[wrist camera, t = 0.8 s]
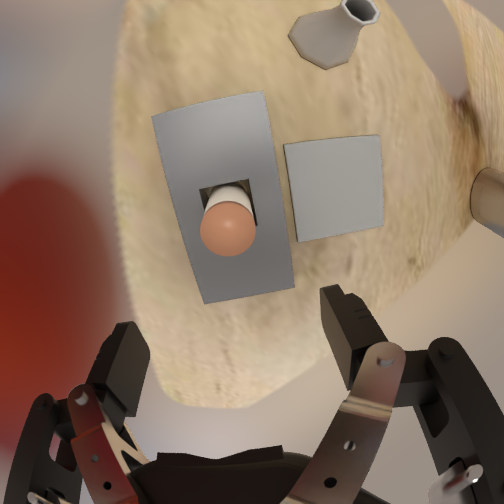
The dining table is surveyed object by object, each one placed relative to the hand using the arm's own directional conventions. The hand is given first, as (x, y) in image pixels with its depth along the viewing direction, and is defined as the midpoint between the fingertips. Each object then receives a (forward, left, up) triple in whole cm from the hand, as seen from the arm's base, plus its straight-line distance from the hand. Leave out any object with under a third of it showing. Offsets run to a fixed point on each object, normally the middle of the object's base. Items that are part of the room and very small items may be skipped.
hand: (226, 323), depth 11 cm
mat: (-12, +1, -20) cm, 23 cm away
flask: (-13, -16, -20) cm, 29 cm away
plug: (0, 0, -20) cm, 20 cm away
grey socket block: (0, 0, -20) cm, 20 cm away
